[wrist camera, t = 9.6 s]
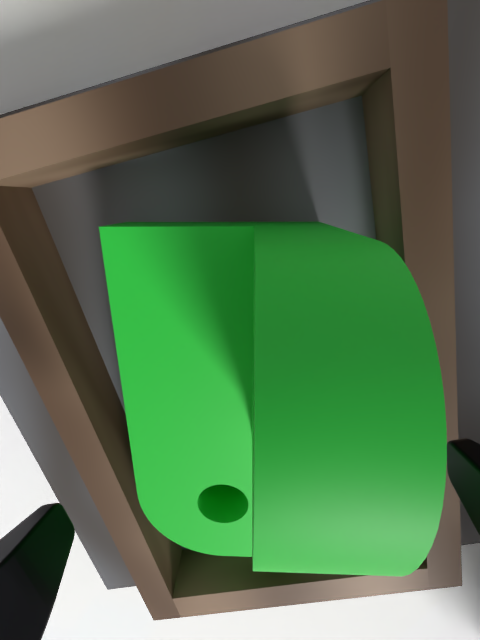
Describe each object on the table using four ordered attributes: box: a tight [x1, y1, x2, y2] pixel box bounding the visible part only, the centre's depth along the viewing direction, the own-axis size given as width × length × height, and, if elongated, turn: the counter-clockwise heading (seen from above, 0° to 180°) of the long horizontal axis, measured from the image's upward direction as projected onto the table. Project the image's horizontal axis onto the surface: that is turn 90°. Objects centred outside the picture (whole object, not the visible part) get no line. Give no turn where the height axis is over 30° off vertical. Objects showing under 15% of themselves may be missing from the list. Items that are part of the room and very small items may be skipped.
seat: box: [0, 0, 480, 620], centre depth 11 cm, size 19×20×3 cm
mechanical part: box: [99, 222, 447, 577], centre depth 9 cm, size 12×6×8 cm, turn 0°
